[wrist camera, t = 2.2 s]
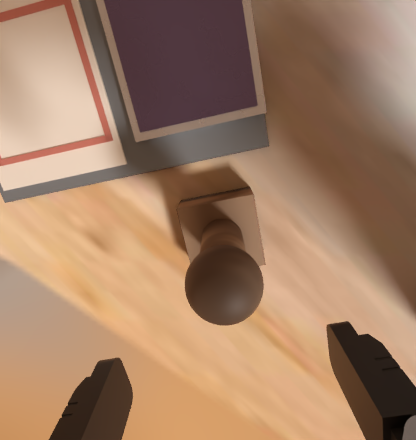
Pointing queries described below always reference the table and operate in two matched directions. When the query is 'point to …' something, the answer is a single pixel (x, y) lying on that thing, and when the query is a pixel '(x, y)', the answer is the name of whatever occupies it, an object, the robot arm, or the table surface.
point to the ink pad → (184, 62)
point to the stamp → (223, 255)
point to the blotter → (82, 107)
